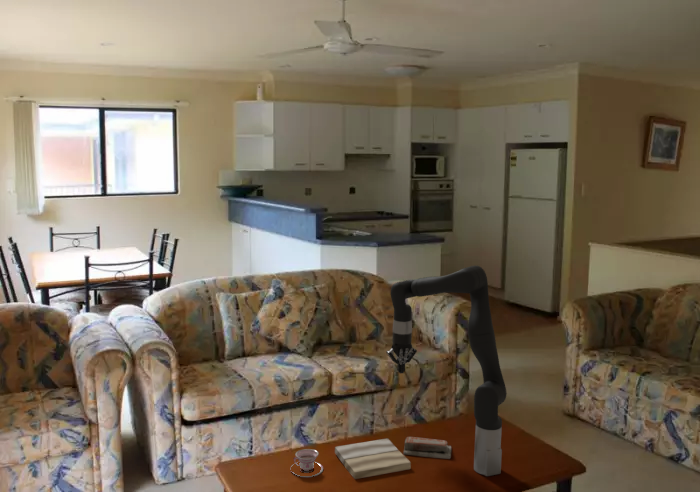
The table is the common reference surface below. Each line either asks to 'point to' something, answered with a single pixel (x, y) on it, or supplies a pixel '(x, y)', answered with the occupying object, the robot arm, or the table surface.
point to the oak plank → (377, 464)
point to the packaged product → (427, 447)
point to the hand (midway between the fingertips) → (401, 372)
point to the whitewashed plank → (364, 449)
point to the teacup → (307, 460)
